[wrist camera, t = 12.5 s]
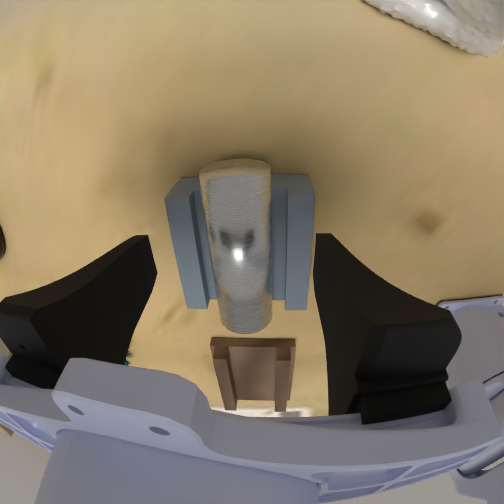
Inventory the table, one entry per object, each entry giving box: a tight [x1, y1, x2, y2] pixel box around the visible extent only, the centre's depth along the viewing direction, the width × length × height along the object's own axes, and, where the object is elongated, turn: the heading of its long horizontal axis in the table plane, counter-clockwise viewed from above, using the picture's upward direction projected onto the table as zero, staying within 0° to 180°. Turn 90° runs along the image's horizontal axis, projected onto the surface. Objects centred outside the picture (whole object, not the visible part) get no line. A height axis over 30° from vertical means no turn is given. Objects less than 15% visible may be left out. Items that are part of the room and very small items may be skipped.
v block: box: [165, 174, 315, 310], centre depth 19 cm, size 8×8×4 cm
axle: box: [199, 159, 272, 334], centre depth 17 cm, size 10×4×4 cm, turn 2°
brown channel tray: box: [210, 337, 295, 412], centre depth 28 cm, size 8×10×2 cm
